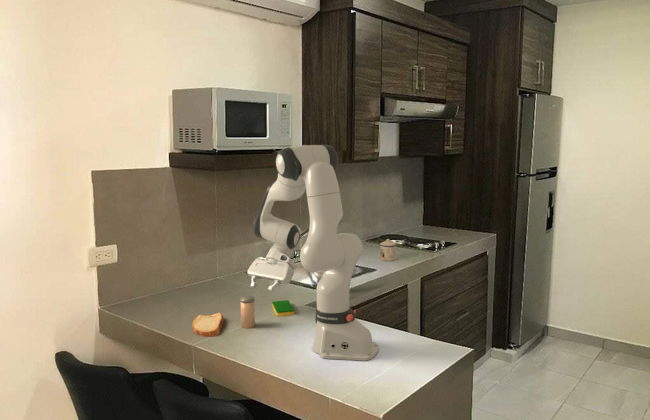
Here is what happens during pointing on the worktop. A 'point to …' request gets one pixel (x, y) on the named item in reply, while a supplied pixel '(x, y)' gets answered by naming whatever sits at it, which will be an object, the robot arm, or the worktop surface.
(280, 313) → the dish sponge
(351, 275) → the robot arm
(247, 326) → the grey-capped jar
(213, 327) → the slice of bread
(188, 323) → the worktop surface
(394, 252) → the teacup with lid
